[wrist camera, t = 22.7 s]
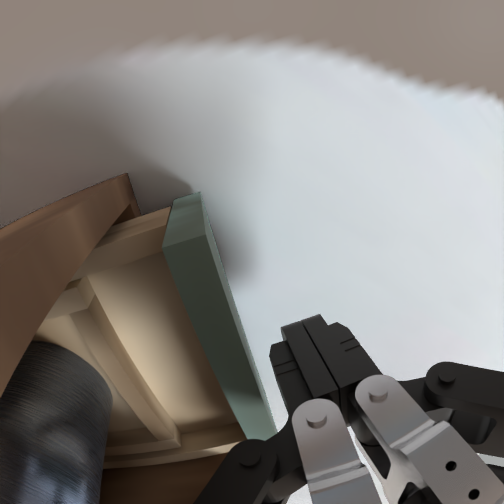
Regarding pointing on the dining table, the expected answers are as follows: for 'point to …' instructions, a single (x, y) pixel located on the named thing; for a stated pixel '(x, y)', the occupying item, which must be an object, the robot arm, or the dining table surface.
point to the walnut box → (46, 294)
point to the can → (53, 429)
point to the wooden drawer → (163, 340)
